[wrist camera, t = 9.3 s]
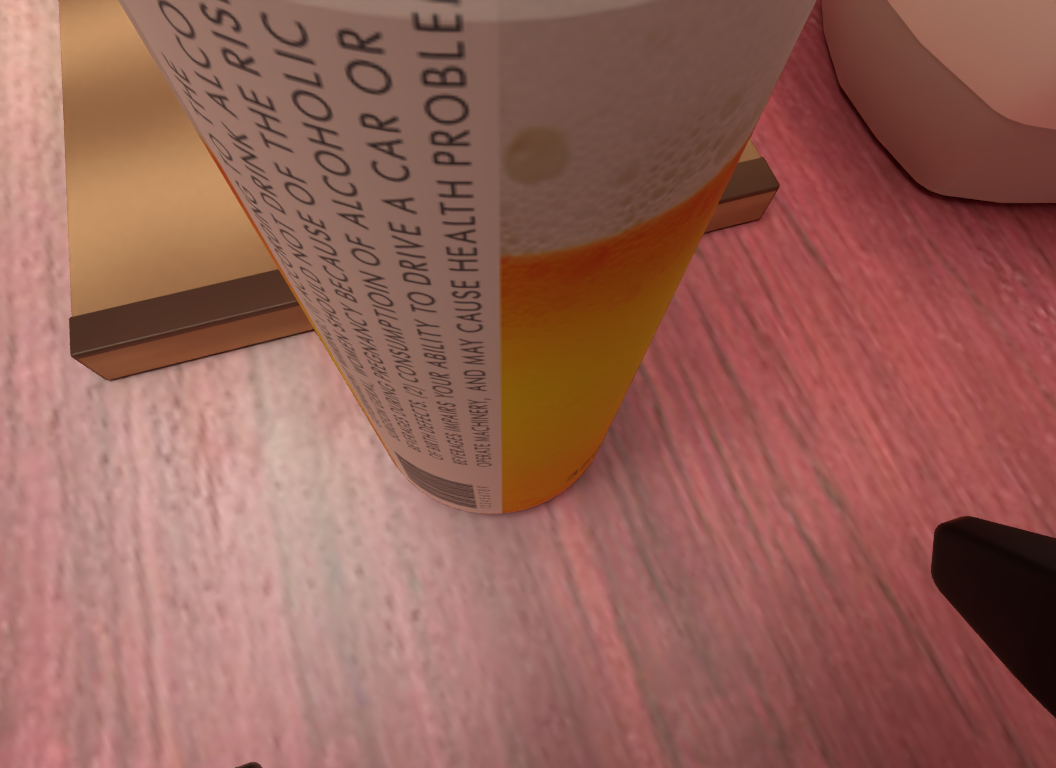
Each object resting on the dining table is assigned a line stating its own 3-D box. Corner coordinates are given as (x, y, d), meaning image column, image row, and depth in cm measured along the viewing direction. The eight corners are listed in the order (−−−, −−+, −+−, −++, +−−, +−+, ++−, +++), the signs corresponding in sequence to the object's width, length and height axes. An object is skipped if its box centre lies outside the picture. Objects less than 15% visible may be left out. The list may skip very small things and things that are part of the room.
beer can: (623, 342, 18) (1012, -639, 4) (576, 548, 16) (1088, -148, 2) (425, 291, 19) (195, -751, 5) (349, 484, 16) (-549, -458, 2)
